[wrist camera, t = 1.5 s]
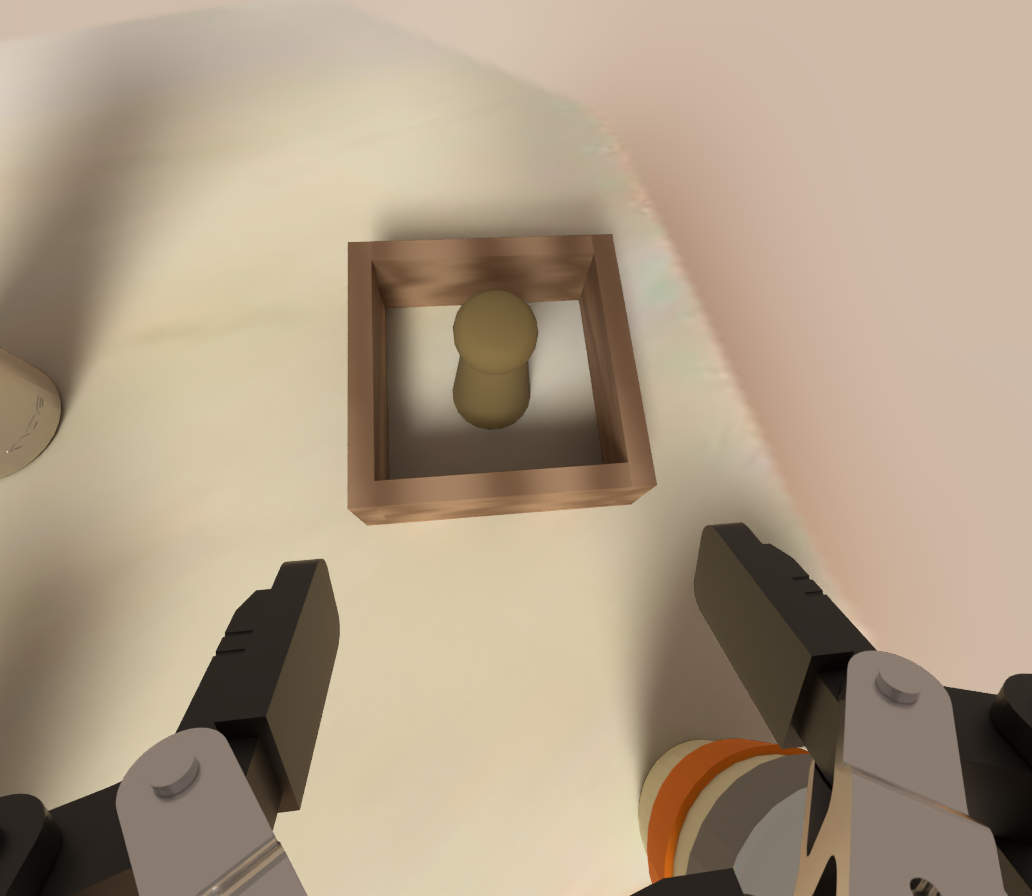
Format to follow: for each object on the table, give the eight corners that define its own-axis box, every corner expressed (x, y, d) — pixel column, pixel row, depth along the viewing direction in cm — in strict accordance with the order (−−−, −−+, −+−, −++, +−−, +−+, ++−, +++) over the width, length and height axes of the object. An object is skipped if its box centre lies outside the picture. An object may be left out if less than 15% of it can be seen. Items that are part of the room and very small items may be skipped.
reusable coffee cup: (579, 754, 34) (653, 852, 20) (747, 679, 36) (923, 718, 22) (661, 982, 31) (820, 1295, 17) (840, 884, 33) (1119, 1088, 19)
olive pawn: (485, 344, 43) (488, 255, 32) (545, 388, 42) (568, 312, 31) (436, 397, 41) (422, 322, 30) (497, 444, 40) (505, 383, 30)
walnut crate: (367, 525, 38) (347, 508, 32) (364, 291, 43) (347, 242, 38) (630, 504, 39) (656, 484, 34) (595, 282, 45) (612, 234, 39)
